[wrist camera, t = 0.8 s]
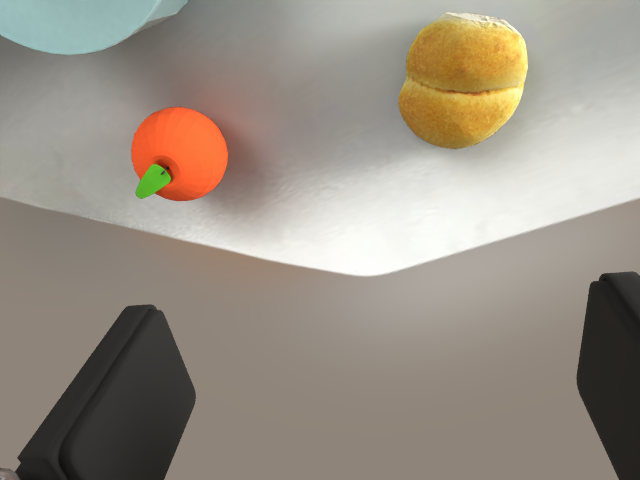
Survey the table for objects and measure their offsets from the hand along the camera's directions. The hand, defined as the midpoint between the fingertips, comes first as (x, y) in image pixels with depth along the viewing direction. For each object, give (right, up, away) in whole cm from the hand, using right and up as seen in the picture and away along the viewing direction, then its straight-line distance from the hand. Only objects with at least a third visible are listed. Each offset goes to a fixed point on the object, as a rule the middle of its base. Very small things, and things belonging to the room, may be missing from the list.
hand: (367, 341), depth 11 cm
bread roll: (+9, +14, +24) cm, 29 cm away
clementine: (-11, +10, +28) cm, 32 cm away
